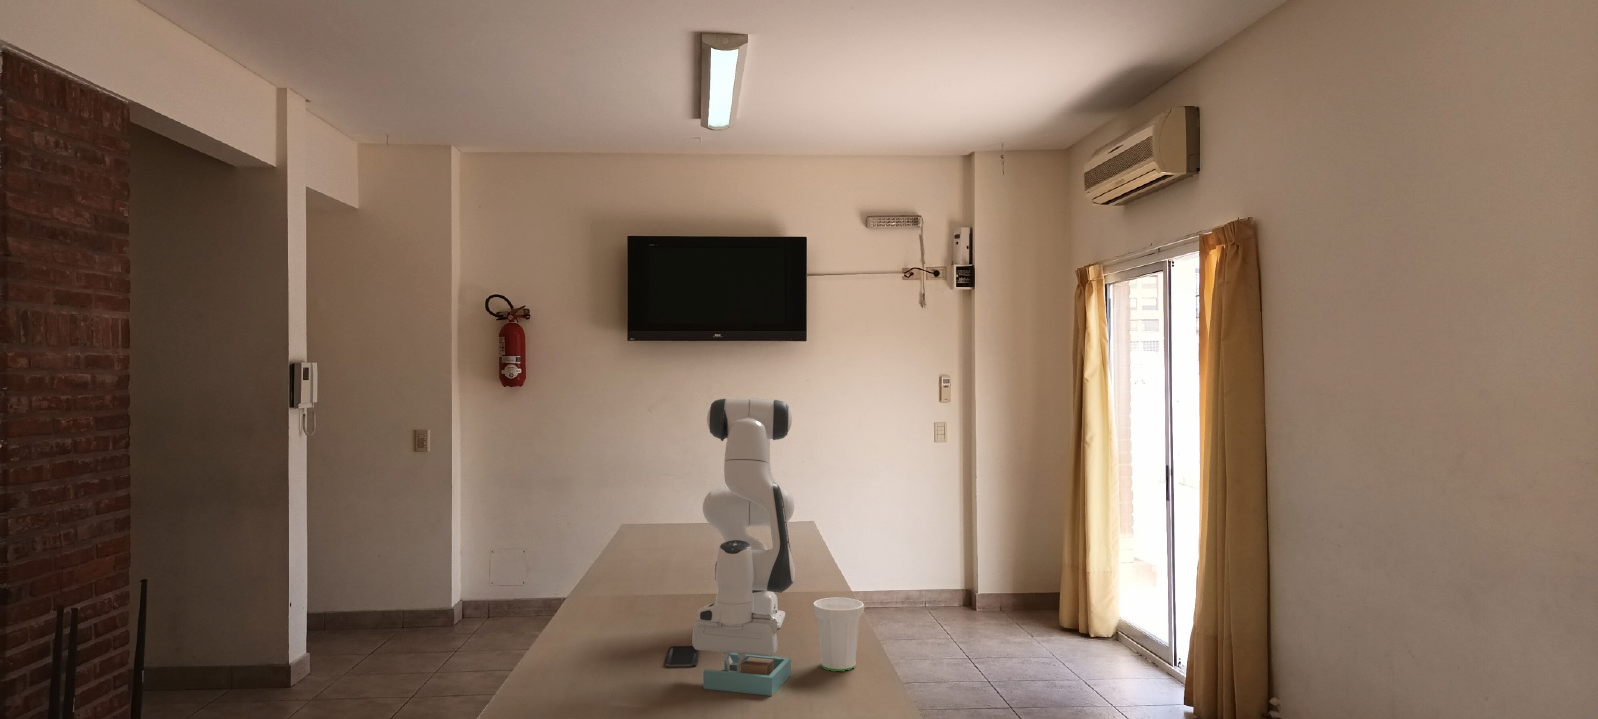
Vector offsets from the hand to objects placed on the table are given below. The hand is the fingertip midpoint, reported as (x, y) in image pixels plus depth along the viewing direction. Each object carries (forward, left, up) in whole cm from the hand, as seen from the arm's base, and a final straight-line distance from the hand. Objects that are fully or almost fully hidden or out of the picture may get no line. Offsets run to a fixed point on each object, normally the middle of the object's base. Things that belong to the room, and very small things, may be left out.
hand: (734, 671), depth 215 cm
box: (0, +3, -2) cm, 3 cm away
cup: (-17, +21, -2) cm, 27 cm away
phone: (-12, -18, -3) cm, 22 cm away
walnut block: (+1, +6, -2) cm, 6 cm away
